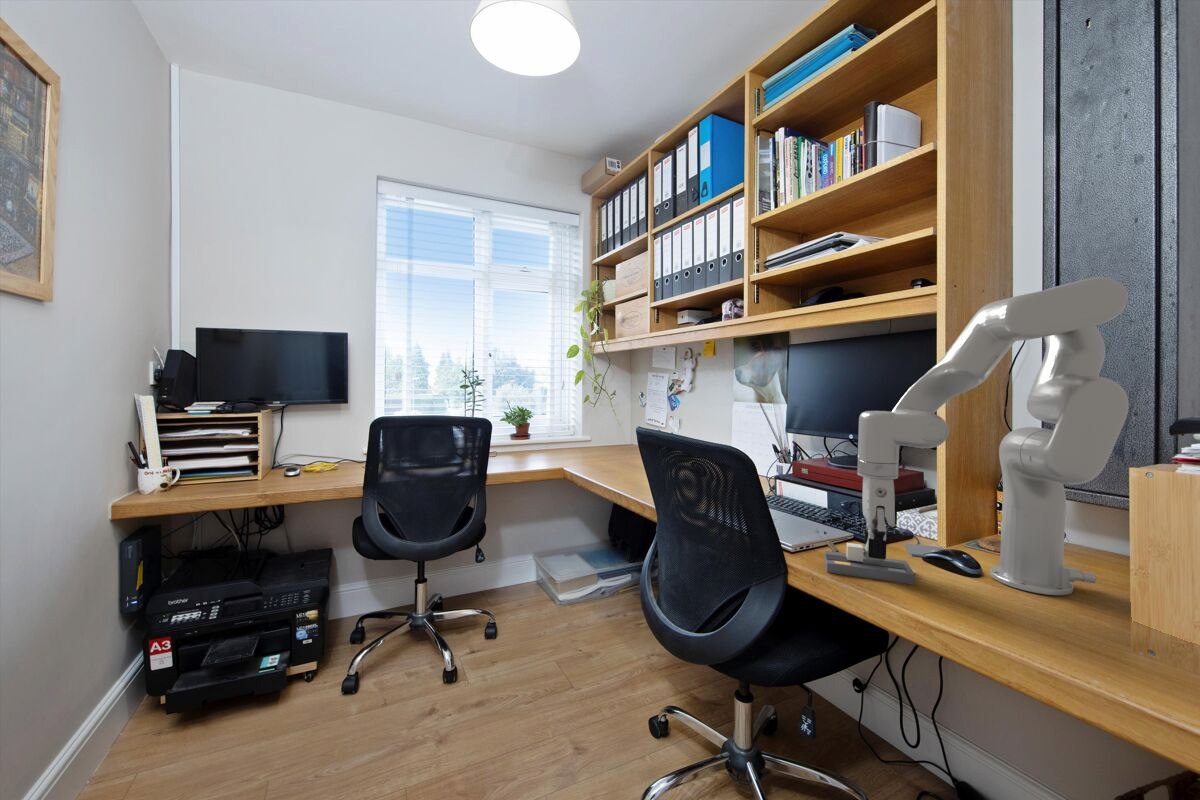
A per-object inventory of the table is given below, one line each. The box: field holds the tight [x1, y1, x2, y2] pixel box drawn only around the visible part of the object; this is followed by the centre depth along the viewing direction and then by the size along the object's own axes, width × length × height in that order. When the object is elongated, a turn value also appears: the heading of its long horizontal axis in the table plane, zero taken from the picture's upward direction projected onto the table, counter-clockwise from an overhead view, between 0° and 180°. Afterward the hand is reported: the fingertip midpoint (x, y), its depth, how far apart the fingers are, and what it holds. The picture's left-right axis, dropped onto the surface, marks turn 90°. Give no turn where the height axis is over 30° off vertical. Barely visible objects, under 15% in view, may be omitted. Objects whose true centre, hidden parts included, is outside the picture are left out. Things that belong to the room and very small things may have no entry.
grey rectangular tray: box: [824, 550, 916, 585], centre depth 103 cm, size 16×8×2 cm, turn 68°
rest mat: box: [904, 542, 945, 558], centre depth 114 cm, size 8×8×1 cm
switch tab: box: [845, 542, 864, 562], centre depth 104 cm, size 3×2×3 cm
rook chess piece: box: [863, 521, 885, 561], centre depth 102 cm, size 4×4×8 cm
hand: (874, 552), depth 103 cm, fingers closed on rook chess piece, 4 cm apart
